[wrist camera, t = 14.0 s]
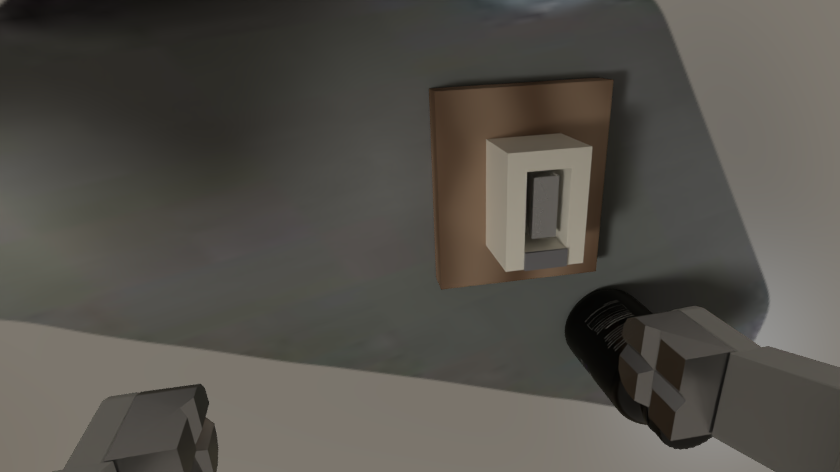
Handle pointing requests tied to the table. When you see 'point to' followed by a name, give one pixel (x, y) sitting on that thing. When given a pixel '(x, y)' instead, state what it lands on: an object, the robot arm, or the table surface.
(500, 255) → the open rectangular brace
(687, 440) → the supplement bottle
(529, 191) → the tall grey block
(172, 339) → the table surface
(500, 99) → the board
